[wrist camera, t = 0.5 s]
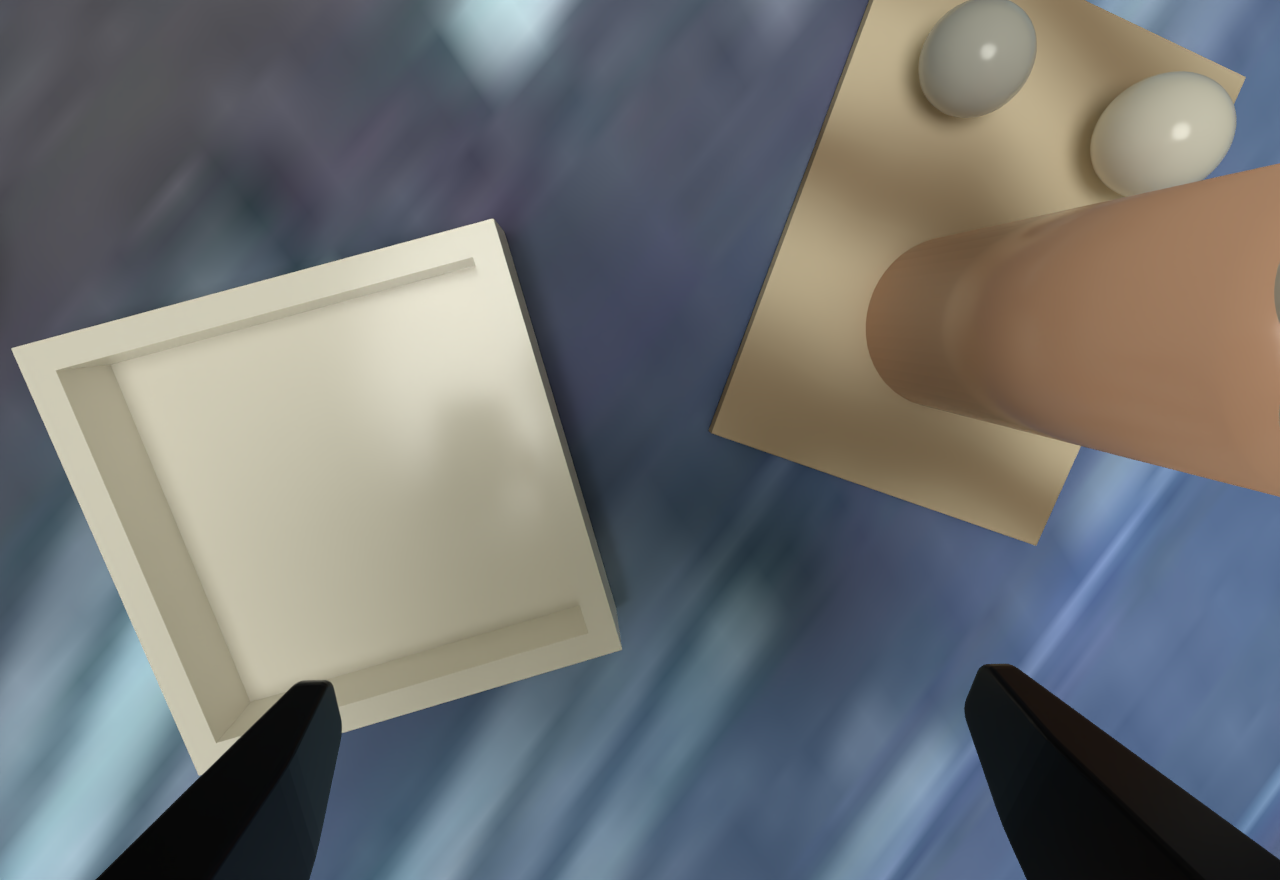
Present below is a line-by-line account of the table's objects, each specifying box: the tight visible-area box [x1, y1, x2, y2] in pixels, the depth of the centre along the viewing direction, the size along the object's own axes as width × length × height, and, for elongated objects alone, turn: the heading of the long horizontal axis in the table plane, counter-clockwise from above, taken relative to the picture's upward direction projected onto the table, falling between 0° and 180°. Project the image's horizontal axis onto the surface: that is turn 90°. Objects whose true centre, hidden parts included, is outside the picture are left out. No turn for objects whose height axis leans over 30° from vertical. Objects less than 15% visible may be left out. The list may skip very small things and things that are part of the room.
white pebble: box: [1090, 71, 1236, 197], centre depth 21 cm, size 3×3×3 cm
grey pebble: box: [918, 0, 1037, 118], centre depth 20 cm, size 3×3×3 cm
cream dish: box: [11, 219, 622, 775], centre depth 21 cm, size 13×13×3 cm
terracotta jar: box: [866, 164, 1280, 497], centre depth 16 cm, size 5×5×14 cm
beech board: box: [709, 0, 1246, 545], centre depth 23 cm, size 16×12×1 cm
